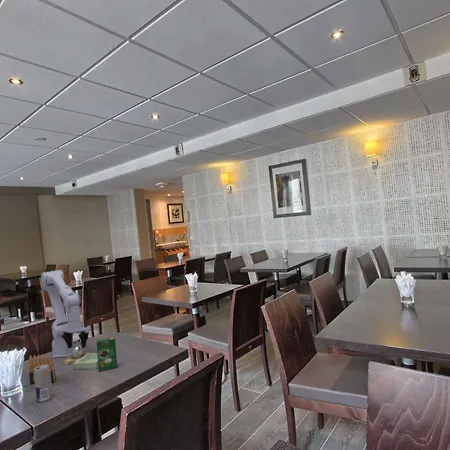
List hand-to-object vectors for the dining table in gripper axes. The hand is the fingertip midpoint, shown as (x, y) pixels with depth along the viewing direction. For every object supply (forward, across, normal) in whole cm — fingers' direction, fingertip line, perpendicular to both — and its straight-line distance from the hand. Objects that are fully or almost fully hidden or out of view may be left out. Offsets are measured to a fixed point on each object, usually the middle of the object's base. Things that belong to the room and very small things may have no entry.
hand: (77, 347), depth 163 cm
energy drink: (+6, -12, +35) cm, 38 cm away
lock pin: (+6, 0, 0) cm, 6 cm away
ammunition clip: (+6, 0, +23) cm, 24 cm away
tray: (+6, -11, +5) cm, 14 cm away
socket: (+6, 0, 0) cm, 6 cm away
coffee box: (+6, -23, +10) cm, 25 cm away
